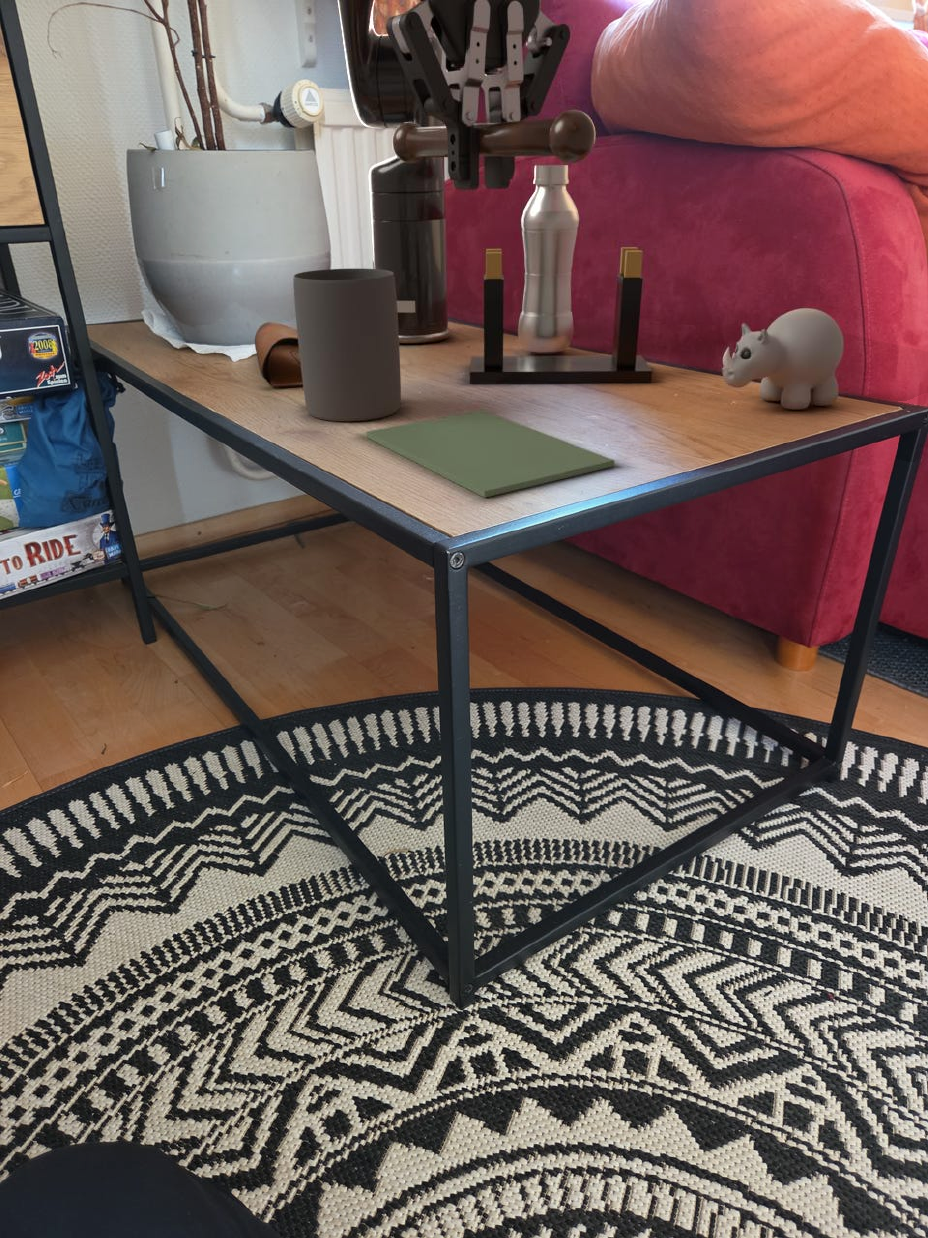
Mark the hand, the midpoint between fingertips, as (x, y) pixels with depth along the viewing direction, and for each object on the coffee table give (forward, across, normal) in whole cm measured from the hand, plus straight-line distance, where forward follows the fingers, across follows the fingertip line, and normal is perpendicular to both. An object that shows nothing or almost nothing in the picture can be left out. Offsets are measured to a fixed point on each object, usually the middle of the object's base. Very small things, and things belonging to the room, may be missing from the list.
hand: (482, 187), depth 60 cm
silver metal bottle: (+19, +28, +28) cm, 44 cm away
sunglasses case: (+19, 0, +38) cm, 43 cm away
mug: (+19, -2, +20) cm, 28 cm away
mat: (+19, 0, 0) cm, 19 cm away
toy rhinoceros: (+19, +30, -4) cm, 36 cm away
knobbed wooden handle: (-3, 0, 0) cm, 3 cm away
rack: (+19, +22, +18) cm, 34 cm away
